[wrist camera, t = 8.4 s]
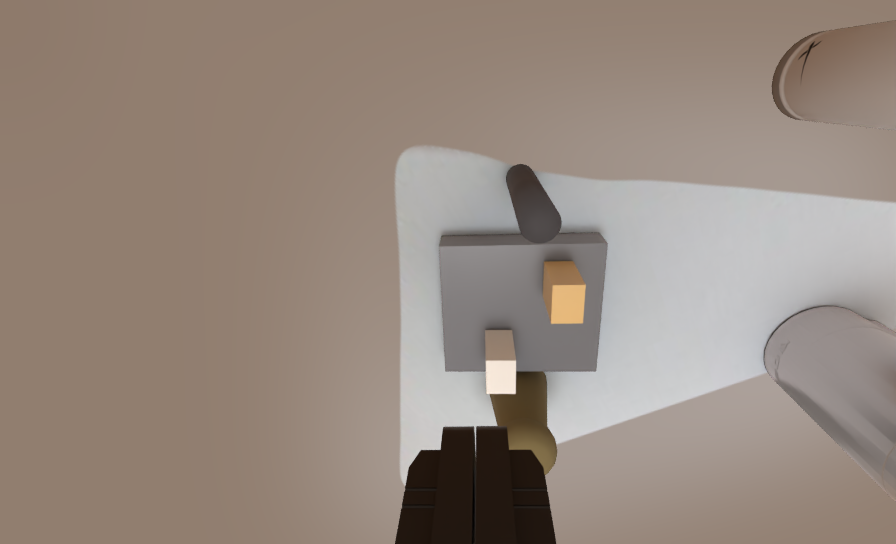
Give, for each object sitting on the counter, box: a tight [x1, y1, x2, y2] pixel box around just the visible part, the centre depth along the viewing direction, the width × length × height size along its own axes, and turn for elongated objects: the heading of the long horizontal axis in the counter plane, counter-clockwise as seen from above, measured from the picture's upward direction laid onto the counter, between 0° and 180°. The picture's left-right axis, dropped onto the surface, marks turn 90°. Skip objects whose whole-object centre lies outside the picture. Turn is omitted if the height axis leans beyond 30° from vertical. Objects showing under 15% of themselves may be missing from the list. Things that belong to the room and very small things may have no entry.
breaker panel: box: [439, 233, 608, 371], centre depth 43 cm, size 14×12×3 cm
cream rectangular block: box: [485, 330, 516, 394], centre depth 40 cm, size 2×3×5 cm
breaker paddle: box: [543, 261, 586, 324], centre depth 37 cm, size 2×3×5 cm
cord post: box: [506, 164, 561, 244], centre depth 33 cm, size 2×2×14 cm
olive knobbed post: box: [490, 371, 557, 475], centre depth 42 cm, size 6×6×11 cm
